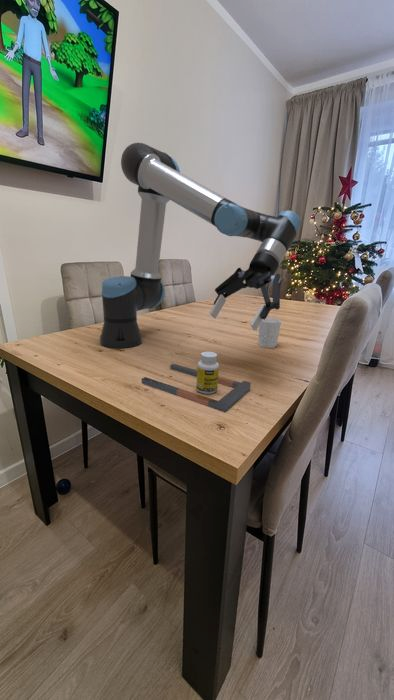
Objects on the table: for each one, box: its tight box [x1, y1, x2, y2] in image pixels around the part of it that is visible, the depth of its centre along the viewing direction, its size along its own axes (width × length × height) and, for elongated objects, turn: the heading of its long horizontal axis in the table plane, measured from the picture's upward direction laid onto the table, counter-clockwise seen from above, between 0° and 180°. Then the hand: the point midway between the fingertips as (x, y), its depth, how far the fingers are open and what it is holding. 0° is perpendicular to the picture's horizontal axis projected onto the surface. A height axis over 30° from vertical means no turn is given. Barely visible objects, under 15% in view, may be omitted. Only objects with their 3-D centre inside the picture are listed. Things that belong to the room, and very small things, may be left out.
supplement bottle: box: [196, 351, 220, 395], centre depth 77 cm, size 5×5×10 cm
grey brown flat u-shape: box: [141, 363, 252, 412], centre depth 80 cm, size 25×14×2 cm, turn 57°
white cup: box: [258, 317, 282, 349], centre depth 115 cm, size 8×8×10 cm
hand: (231, 321), depth 82 cm, fingers open, 13 cm apart
